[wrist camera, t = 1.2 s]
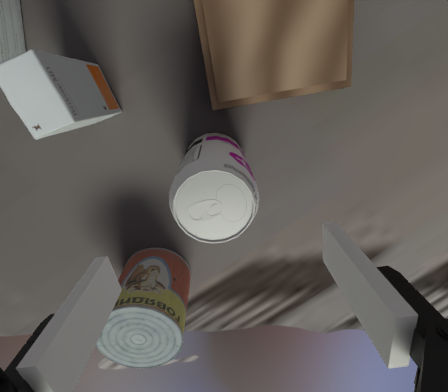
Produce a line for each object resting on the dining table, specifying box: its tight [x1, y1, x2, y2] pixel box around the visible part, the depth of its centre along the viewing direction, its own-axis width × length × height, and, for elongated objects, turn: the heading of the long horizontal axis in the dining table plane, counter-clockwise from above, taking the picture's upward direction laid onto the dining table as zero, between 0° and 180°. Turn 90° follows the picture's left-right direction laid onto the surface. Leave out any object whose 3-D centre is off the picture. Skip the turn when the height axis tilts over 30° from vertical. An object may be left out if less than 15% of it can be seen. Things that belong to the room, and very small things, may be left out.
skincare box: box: [0, 49, 122, 140], centre depth 26 cm, size 6×4×12 cm
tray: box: [194, 0, 354, 110], centre depth 27 cm, size 16×16×4 cm
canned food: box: [96, 248, 191, 368], centre depth 37 cm, size 11×11×12 cm
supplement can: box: [169, 133, 259, 244], centre depth 28 cm, size 8×8×15 cm
